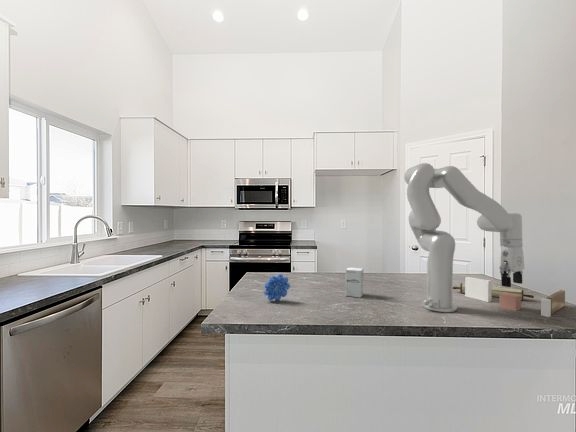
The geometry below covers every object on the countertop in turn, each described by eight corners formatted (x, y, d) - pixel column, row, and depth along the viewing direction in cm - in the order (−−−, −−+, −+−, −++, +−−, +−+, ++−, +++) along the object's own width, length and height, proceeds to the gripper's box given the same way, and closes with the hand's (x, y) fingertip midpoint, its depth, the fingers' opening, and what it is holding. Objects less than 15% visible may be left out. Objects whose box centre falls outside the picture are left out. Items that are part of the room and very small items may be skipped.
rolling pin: (533, 300, 142) (533, 289, 142) (534, 303, 137) (534, 292, 137) (452, 291, 159) (452, 281, 159) (451, 293, 155) (451, 283, 155)
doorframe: (548, 317, 119) (548, 293, 118) (462, 297, 147) (462, 277, 146) (554, 314, 121) (554, 291, 121) (468, 295, 149) (468, 276, 149)
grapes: (289, 298, 144) (289, 271, 144) (290, 302, 137) (290, 274, 137) (263, 298, 143) (263, 272, 143) (263, 302, 136) (263, 275, 136)
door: (545, 314, 122) (545, 297, 122) (560, 305, 134) (560, 289, 134) (550, 315, 120) (550, 298, 120) (565, 306, 133) (565, 290, 133)
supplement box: (345, 296, 148) (345, 269, 148) (348, 292, 155) (348, 266, 154) (361, 298, 145) (361, 270, 145) (363, 294, 152) (363, 267, 152)
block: (515, 310, 126) (515, 297, 126) (499, 307, 132) (499, 293, 131) (520, 309, 129) (520, 295, 129) (504, 305, 134) (504, 292, 134)
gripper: (511, 245, 122) (512, 289, 122) (531, 242, 131) (532, 283, 131) (490, 244, 129) (491, 286, 129) (511, 241, 138) (511, 280, 138)
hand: (512, 284), depth 130 cm, fingers open, 9 cm apart
